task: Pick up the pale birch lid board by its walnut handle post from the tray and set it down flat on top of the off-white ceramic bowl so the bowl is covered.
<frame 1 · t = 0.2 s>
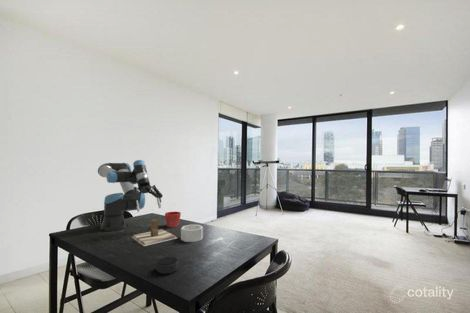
hand: (149, 209, 144), 16 cm above the table, tool tilted 35°, fingers open, 13 cm apart
tray: (154, 238, 135), on the table
lid: (154, 237, 135), point 1 cm above the table, touching tray
smart speaker: (167, 270, 96), on the table
bowl: (191, 239, 134), on the table
flower pot: (172, 227, 160), on the table
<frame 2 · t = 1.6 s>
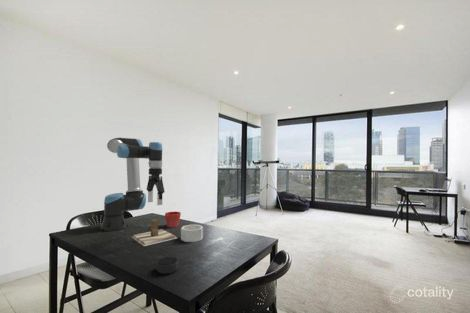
hand: (154, 203, 135), 21 cm above the table, tool pointing down, fingers open, 13 cm apart
nothing on the table moved.
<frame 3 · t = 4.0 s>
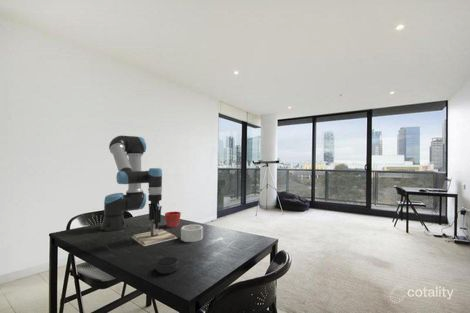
hand: (154, 233, 135), 3 cm above the table, tool pointing down, fingers closed on lid, 3 cm apart
lid: (154, 237, 135), point 1 cm above the table, touching gripper, tray
everything else where it was.
when the fingers open (11 cm above the table, at t = 9.1 s): lid drops 1 cm, resting on bowl.
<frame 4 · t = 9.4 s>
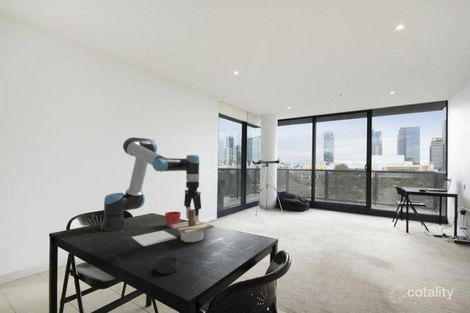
hand: (192, 219, 134), 12 cm above the table, tool pointing down, fingers open, 8 cm apart
lid: (192, 227, 134), point 7 cm above the table, touching bowl
everything else where it was.
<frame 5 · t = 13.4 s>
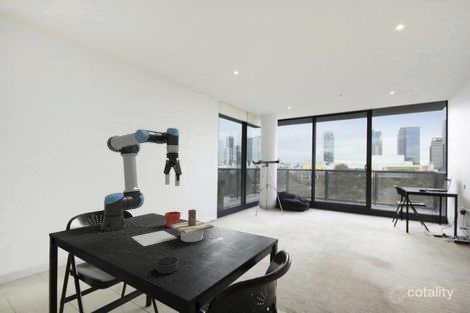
hand: (172, 185, 145), 31 cm above the table, tool pointing down, fingers open, 13 cm apart
nothing on the table moved.
at the end: lid 0.1 cm off-centre on the bowl, point 7.0 cm above the bowl's base; lid tilted 0°; the gripper is holding nothing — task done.
